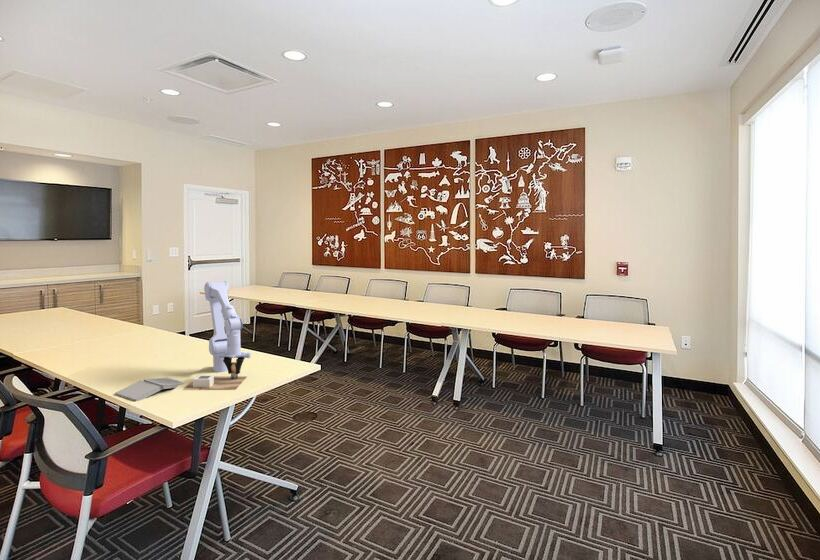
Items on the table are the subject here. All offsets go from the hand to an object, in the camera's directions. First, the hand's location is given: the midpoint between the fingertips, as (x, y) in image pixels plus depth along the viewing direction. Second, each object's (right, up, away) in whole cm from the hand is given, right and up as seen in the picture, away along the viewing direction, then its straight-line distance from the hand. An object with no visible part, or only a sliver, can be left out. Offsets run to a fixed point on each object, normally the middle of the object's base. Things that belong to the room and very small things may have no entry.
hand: (234, 373), depth 206 cm
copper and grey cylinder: (0, -2, 0) cm, 2 cm away
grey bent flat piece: (-30, -5, -13) cm, 33 cm away
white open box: (-10, -3, -10) cm, 14 cm away
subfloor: (-6, -4, -6) cm, 9 cm away
